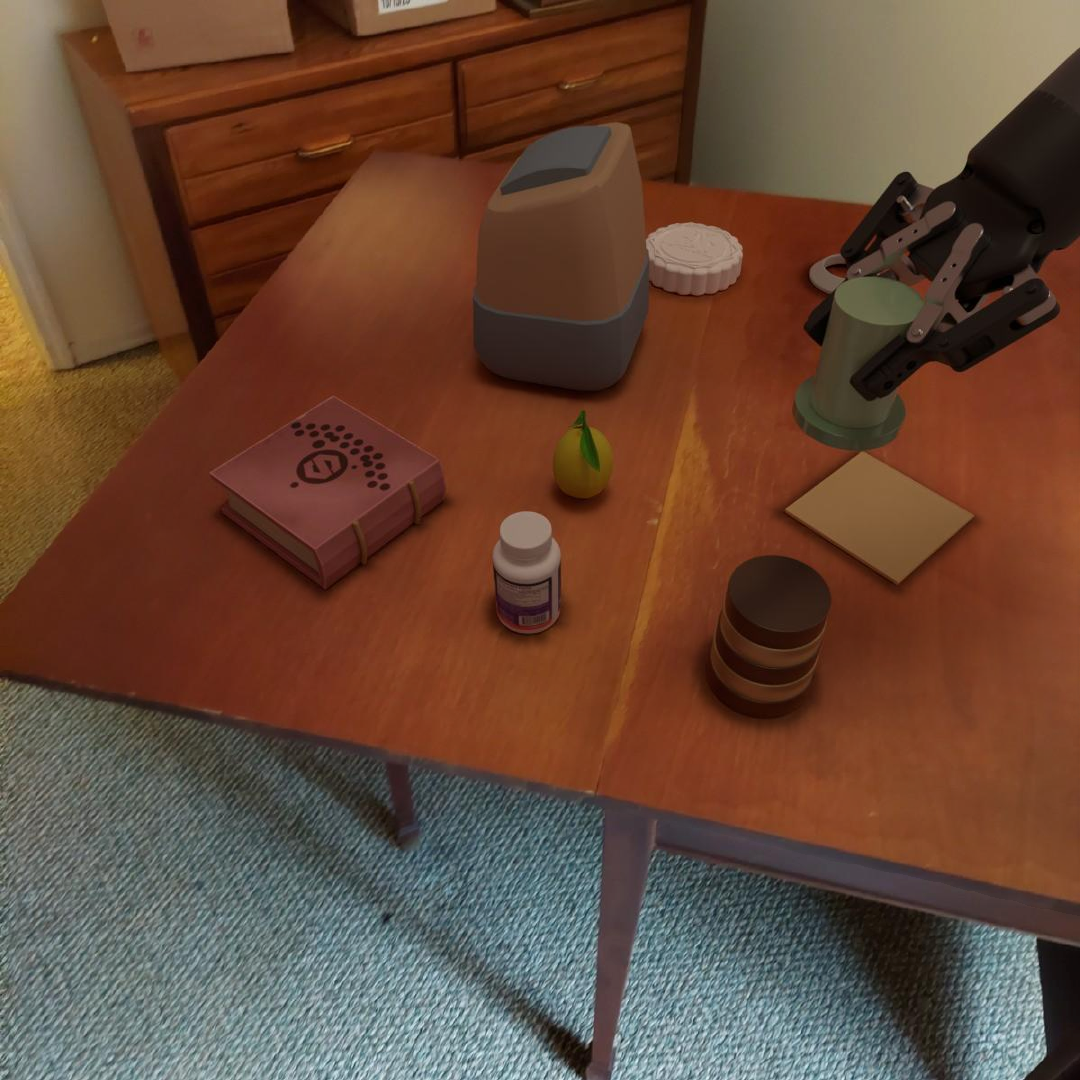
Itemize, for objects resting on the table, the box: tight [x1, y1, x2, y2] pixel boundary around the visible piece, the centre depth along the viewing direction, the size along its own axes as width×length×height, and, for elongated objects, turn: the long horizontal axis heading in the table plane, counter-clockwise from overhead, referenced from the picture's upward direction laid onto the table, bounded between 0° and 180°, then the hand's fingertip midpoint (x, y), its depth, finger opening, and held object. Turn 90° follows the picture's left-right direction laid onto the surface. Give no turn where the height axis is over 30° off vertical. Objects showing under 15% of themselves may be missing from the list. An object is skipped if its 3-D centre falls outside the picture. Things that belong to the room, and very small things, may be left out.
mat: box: [784, 451, 975, 586], centre depth 87 cm, size 12×12×1 cm
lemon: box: [552, 408, 614, 499], centre depth 85 cm, size 7×6×10 cm
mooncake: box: [646, 221, 744, 297], centre depth 115 cm, size 12×12×4 cm
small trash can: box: [472, 121, 650, 392], centre depth 96 cm, size 17×17×23 cm
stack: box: [705, 554, 832, 719], centre depth 71 cm, size 8×8×10 cm
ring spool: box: [791, 277, 925, 452], centre depth 58 cm, size 7×7×8 cm
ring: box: [808, 253, 881, 295], centre depth 114 cm, size 8×8×2 cm
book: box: [208, 395, 447, 590], centre depth 86 cm, size 14×15×5 cm
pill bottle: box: [491, 510, 562, 635], centre depth 76 cm, size 5×5×10 cm
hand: (836, 363), depth 57 cm, fingers closed on ring spool, 5 cm apart
